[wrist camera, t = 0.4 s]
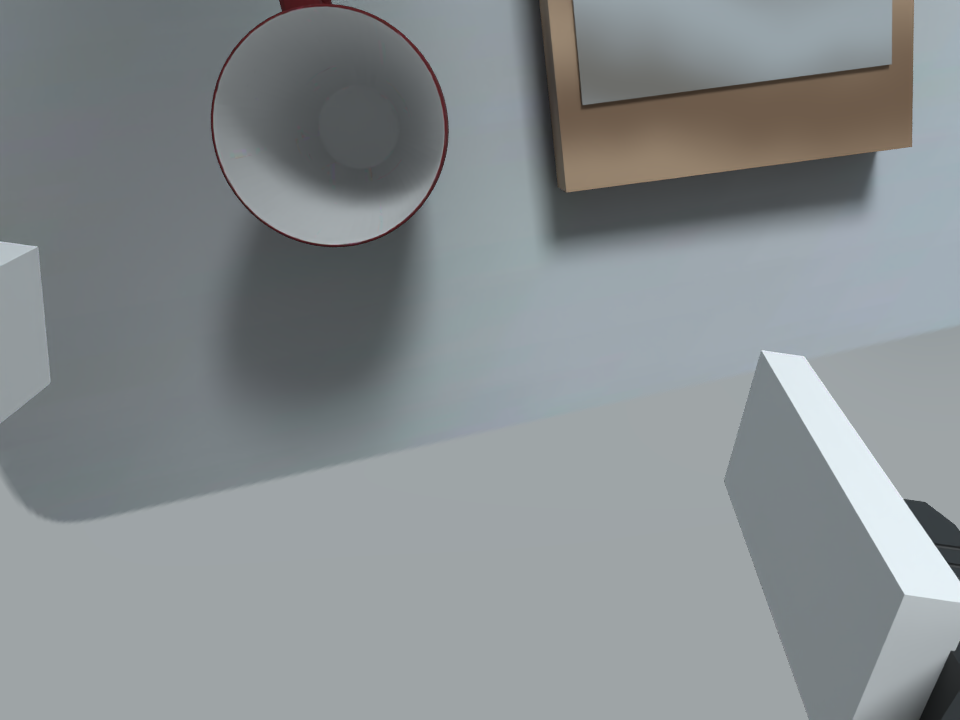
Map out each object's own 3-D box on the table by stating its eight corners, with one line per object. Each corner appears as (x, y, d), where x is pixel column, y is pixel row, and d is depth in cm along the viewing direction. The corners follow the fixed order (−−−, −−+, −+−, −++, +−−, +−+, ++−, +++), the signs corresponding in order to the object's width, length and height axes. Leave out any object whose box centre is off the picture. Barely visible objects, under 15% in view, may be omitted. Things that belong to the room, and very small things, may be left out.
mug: (211, 21, 37) (128, -13, 27) (380, -56, 36) (356, -119, 27) (317, 244, 40) (275, 284, 30) (476, 175, 39) (485, 194, 30)
